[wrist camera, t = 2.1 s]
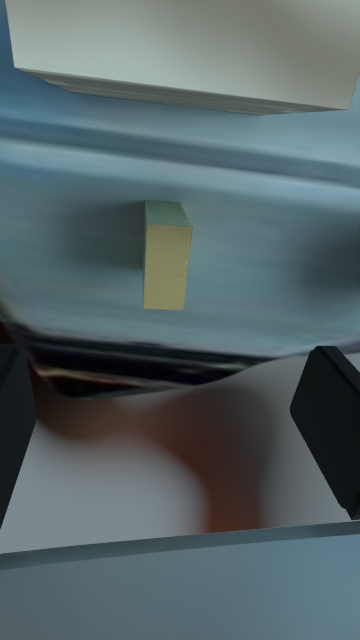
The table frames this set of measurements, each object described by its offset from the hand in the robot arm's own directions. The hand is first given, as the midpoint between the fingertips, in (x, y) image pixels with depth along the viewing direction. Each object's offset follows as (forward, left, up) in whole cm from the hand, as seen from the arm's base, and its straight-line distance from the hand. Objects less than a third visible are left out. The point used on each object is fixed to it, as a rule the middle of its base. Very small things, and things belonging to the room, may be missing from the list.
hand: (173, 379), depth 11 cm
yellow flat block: (0, 0, -15) cm, 15 cm away
